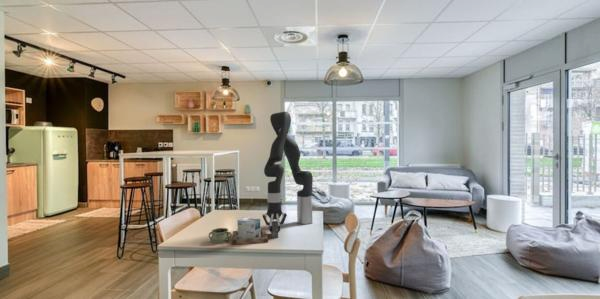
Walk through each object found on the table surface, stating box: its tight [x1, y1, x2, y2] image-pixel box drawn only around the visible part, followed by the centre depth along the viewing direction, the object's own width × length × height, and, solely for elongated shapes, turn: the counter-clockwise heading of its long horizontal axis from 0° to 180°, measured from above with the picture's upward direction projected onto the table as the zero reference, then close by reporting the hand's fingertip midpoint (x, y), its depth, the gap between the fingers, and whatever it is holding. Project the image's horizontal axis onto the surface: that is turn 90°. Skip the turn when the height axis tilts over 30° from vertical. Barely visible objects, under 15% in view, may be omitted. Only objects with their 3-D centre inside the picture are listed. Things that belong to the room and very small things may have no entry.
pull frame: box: [231, 220, 279, 246], centre depth 169 cm, size 24×18×8 cm
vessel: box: [208, 227, 233, 245], centre depth 163 cm, size 12×9×6 cm
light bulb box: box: [237, 217, 262, 239], centre depth 168 cm, size 11×7×11 cm, turn 71°
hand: (274, 232), depth 171 cm, fingers closed on pull frame, 3 cm apart
